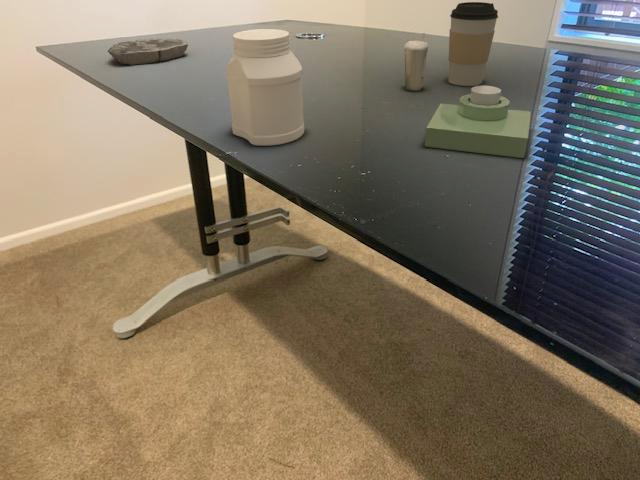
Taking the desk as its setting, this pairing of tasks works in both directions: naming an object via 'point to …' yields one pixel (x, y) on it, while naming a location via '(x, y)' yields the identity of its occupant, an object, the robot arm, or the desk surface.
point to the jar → (265, 88)
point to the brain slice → (148, 50)
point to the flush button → (485, 95)
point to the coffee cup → (470, 42)
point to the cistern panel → (479, 128)
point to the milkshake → (415, 63)
